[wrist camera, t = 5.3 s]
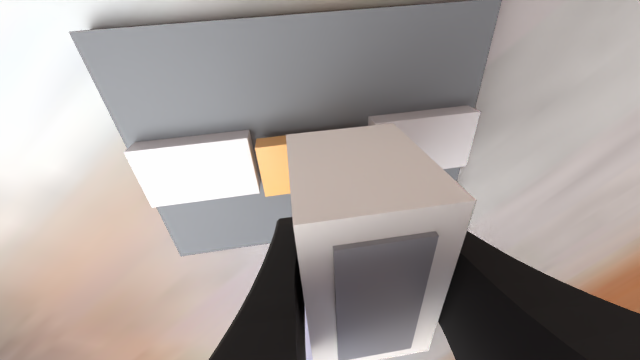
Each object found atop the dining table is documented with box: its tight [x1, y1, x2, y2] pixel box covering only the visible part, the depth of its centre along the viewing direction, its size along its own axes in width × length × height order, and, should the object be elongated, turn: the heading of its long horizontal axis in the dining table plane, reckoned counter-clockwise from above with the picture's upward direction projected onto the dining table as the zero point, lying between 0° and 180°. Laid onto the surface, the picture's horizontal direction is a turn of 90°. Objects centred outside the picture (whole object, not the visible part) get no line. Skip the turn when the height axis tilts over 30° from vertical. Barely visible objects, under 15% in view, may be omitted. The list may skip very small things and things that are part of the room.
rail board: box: [69, 0, 502, 256], centre depth 16 cm, size 14×20×3 cm
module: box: [286, 123, 477, 360], centre depth 9 cm, size 6×4×5 cm, turn 3°
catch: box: [255, 135, 290, 197], centre depth 15 cm, size 3×6×1 cm, turn 94°
